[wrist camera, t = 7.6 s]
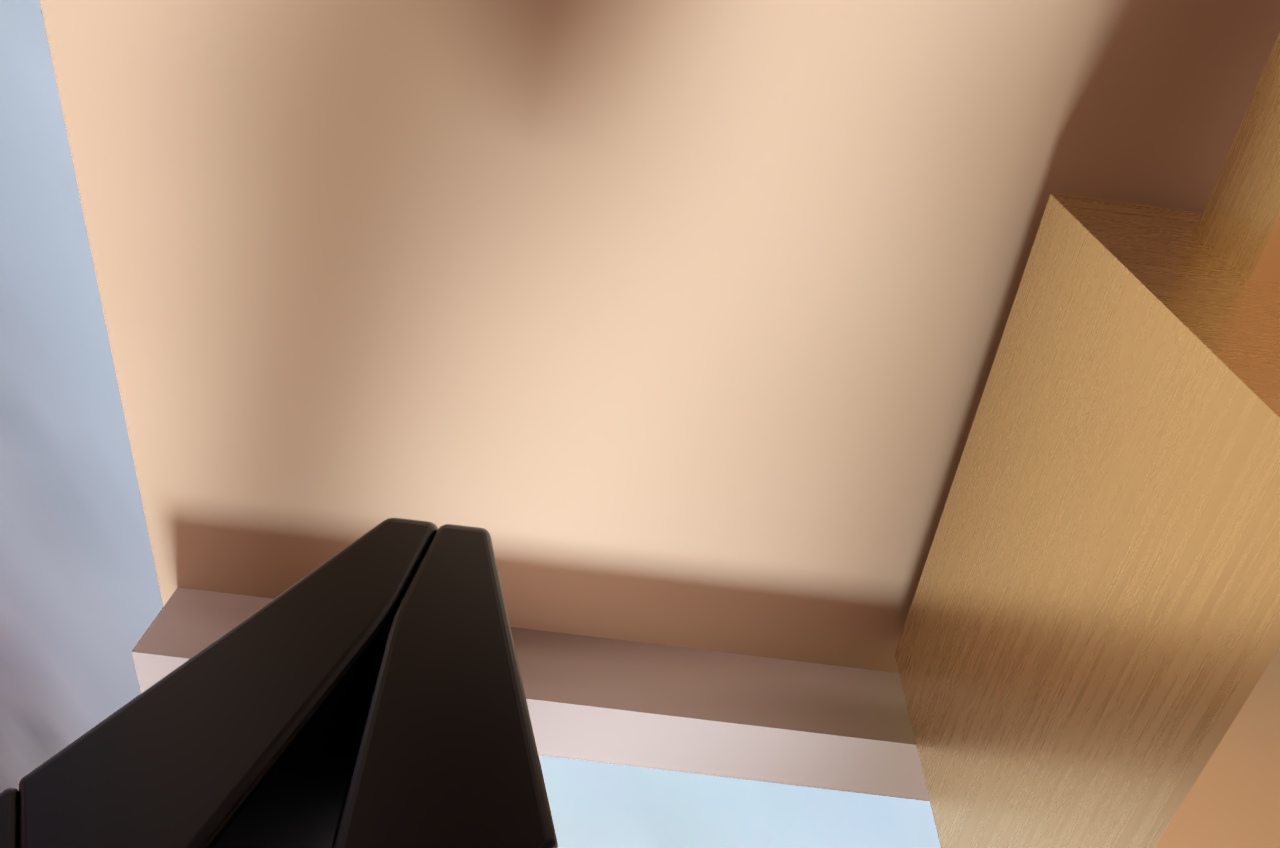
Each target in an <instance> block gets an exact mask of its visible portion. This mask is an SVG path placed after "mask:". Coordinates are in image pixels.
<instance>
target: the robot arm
mask: <svg viewBox="0 0 1280 848" xmlns="http://www.w3.org/2000/svg"><path fill="white" fill-rule="evenodd" d="M557 847H558V843H557V839H556V834H555V830H554V825H553V820H552V816H551V811H550V807H549V802H548V797H547V793H546V788H545V784H544V779H543V774H542V770H541V765H540V761H539V756H538V752H537V747H536V742H535V738H534V733H533V729H532V724H531V719H530V715H529V710H528V706H527V701H526V696H525V692H524V687H523V683H522V678H521V673H520V669H519V664H518V660H517V655H516V650H515V646H514V641H513V637H512V632H511V627H510V623H509V618H508V614H507V609H506V604H505V600H504V595H503V591H502V586H501V581H500V577H499V572H498V568H497V563H496V558H495V554H494V549H493V545H492V540H491V536H490V533H489V532H488V531H487V530H486V529H484V528H479V527H470V526H462V525H453V524H445V525H443V526H440V527H439V529H438V527H437V526H436V525H435V524H434V523H432V522H428V521H420V520H411V519H403V518H389V519H386V520H384V521H383V522H381V523H380V524H378V525H377V526H375V527H374V528H373V529H371V530H370V531H368V532H367V533H366V534H364V535H363V536H361V537H360V538H359V539H357V540H356V541H354V542H353V543H352V544H350V545H349V546H347V547H346V548H345V549H343V550H342V551H340V552H339V553H338V554H336V555H335V556H333V557H332V558H331V559H329V560H328V561H326V562H325V563H324V564H322V565H321V566H319V567H318V568H317V569H315V570H314V571H312V572H311V573H310V574H308V575H307V576H305V577H304V578H302V579H301V580H300V581H298V582H297V583H295V584H294V585H293V586H291V587H290V588H288V589H287V590H286V591H284V592H283V593H281V594H280V595H279V596H277V597H276V598H274V599H273V600H272V601H270V602H269V603H267V604H266V605H265V606H263V607H262V608H260V609H259V610H258V611H256V612H255V613H253V614H252V615H251V616H249V617H248V618H246V619H245V620H244V621H242V622H241V623H239V624H238V625H237V626H235V627H234V628H232V629H231V630H230V631H228V632H227V633H225V634H224V635H223V636H221V637H220V638H218V639H217V640H216V641H214V642H213V643H211V644H210V645H209V646H207V647H206V648H204V649H203V650H202V651H200V652H199V653H197V654H196V655H195V656H193V657H192V658H190V659H189V660H188V661H186V662H185V663H183V664H182V665H181V666H179V667H178V668H176V669H175V670H173V671H172V672H171V673H169V674H168V675H166V676H165V677H164V678H162V679H161V680H159V681H158V682H157V683H155V684H154V685H152V686H151V687H150V688H148V689H147V690H145V691H144V692H143V693H141V694H140V695H138V696H137V697H136V698H134V699H133V700H131V701H130V702H129V703H127V704H126V705H124V706H123V707H122V708H120V709H119V710H117V711H116V712H115V713H113V714H112V715H110V716H109V717H108V718H106V719H105V720H103V721H102V722H101V723H99V724H98V725H96V726H95V727H94V728H92V729H91V730H89V731H88V732H87V733H85V734H84V735H82V736H81V737H80V738H78V739H77V740H75V741H74V742H73V743H71V744H70V745H68V746H67V747H66V748H64V749H63V750H61V751H60V752H59V753H57V754H56V755H54V756H53V757H52V758H50V759H49V760H47V761H46V762H44V763H43V764H42V765H40V766H39V767H37V768H36V769H35V770H33V771H32V772H30V773H29V774H28V775H26V776H25V777H23V778H22V779H21V781H20V783H19V791H18V790H17V789H15V788H8V789H6V790H5V791H3V792H2V793H0V848H557Z"/></svg>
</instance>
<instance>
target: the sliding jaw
mask: <svg viewBox="0 0 1280 848" xmlns="http://www.w3.org/2000/svg"><path fill="white" fill-rule="evenodd" d="M895 658H896V662H897V666H898V670H899V675H900V679H901V683H902V687H903V691H904V695H905V700H906V704H907V708H908V712H909V716H910V720H911V725H912V729H913V733H914V737H915V741H916V745H917V749H918V754H919V758H920V762H921V766H922V770H923V774H924V779H925V783H926V787H927V791H928V795H929V799H930V804H931V808H932V812H933V816H934V820H935V824H936V829H937V833H938V837H939V841H940V845H941V848H1280V33H1279V35H1278V37H1277V40H1276V42H1275V44H1274V47H1273V49H1272V51H1271V54H1270V56H1269V58H1268V61H1267V63H1266V65H1265V68H1264V70H1263V72H1262V75H1261V77H1260V79H1259V82H1258V84H1257V86H1256V89H1255V91H1254V93H1253V96H1252V98H1251V100H1250V103H1249V105H1248V107H1247V110H1246V112H1245V114H1244V117H1243V119H1242V121H1241V124H1240V126H1239V128H1238V131H1237V133H1236V136H1235V138H1234V140H1233V143H1232V145H1231V147H1230V150H1229V152H1228V154H1227V157H1226V159H1225V161H1224V164H1223V166H1222V168H1221V171H1220V173H1219V175H1218V178H1217V180H1216V182H1215V185H1214V187H1213V189H1212V192H1211V194H1210V196H1209V199H1208V201H1207V203H1206V206H1205V208H1204V210H1203V212H1195V211H1187V210H1179V209H1171V208H1163V207H1155V206H1146V205H1138V204H1130V203H1122V202H1114V201H1106V200H1098V199H1089V198H1081V197H1073V196H1065V195H1057V194H1050V196H1049V199H1048V202H1047V205H1046V208H1045V211H1044V214H1043V217H1042V220H1041V223H1040V226H1039V229H1038V232H1037V235H1036V238H1035V241H1034V244H1033V246H1032V249H1031V252H1030V255H1029V258H1028V261H1027V264H1026V267H1025V270H1024V273H1023V276H1022V279H1021V282H1020V285H1019V288H1018V291H1017V294H1016V297H1015V300H1014V303H1013V306H1012V309H1011V312H1010V315H1009V317H1008V320H1007V323H1006V326H1005V329H1004V332H1003V335H1002V338H1001V341H1000V344H999V347H998V350H997V353H996V356H995V359H994V362H993V365H992V368H991V371H990V374H989V377H988V380H987V383H986V386H985V388H984V391H983V394H982V397H981V400H980V403H979V406H978V409H977V412H976V415H975V418H974V421H973V424H972V427H971V430H970V433H969V436H968V439H967V442H966V445H965V448H964V451H963V454H962V457H961V459H960V462H959V465H958V468H957V471H956V474H955V477H954V480H953V483H952V486H951V489H950V492H949V495H948V498H947V501H946V504H945V507H944V510H943V513H942V516H941V519H940V522H939V525H938V528H937V530H936V533H935V536H934V539H933V542H932V545H931V548H930V551H929V554H928V557H927V560H926V563H925V566H924V569H923V572H922V575H921V578H920V581H919V584H918V587H917V590H916V593H915V596H914V599H913V601H912V604H911V607H910V610H909V613H908V616H907V619H906V622H905V625H904V628H903V631H902V634H901V637H900V640H899V643H898V646H897V649H896V652H895Z"/></svg>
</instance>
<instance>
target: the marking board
mask: <svg viewBox="0 0 1280 848" xmlns="http://www.w3.org/2000/svg"><path fill="white" fill-rule="evenodd" d="M40 4H41V9H42V14H43V19H44V24H45V29H46V34H47V39H48V44H49V48H50V53H51V58H52V63H53V68H54V73H55V78H56V83H57V88H58V93H59V97H60V102H61V107H62V112H63V117H64V122H65V127H66V132H67V137H68V142H69V146H70V151H71V156H72V161H73V166H74V171H75V176H76V181H77V186H78V191H79V195H80V200H81V205H82V210H83V215H84V220H85V225H86V230H87V235H88V240H89V245H90V249H91V254H92V259H93V264H94V269H95V274H96V279H97V284H98V289H99V294H100V298H101V303H102V308H103V313H104V318H105V323H106V328H107V333H108V338H109V343H110V347H111V352H112V357H113V362H114V367H115V372H116V377H117V382H118V387H119V392H120V396H121V401H122V406H123V411H124V416H125V421H126V426H127V431H128V436H129V441H130V445H131V450H132V455H133V460H134V465H135V470H136V475H137V480H138V485H139V490H140V494H141V499H142V504H143V509H144V514H145V519H146V524H147V529H148V534H149V539H150V543H151V548H152V553H153V558H154V563H155V568H156V573H157V578H158V583H159V588H160V592H161V597H162V602H163V608H162V610H161V611H160V613H159V614H158V615H157V617H156V618H155V620H154V621H153V622H152V624H151V625H150V627H149V628H148V629H147V631H146V632H145V634H144V635H143V636H142V638H141V639H140V641H139V642H138V643H137V645H136V646H135V648H134V649H133V650H132V656H133V660H134V665H135V669H136V673H137V678H138V682H139V686H140V690H141V693H143V692H144V691H145V690H147V689H148V688H150V687H151V686H152V685H154V684H155V683H157V682H158V681H159V680H161V679H162V678H164V677H165V676H166V675H168V674H169V673H171V672H172V671H173V670H175V669H176V668H178V667H179V666H181V665H182V664H183V663H185V662H186V661H188V660H189V659H190V658H192V657H193V656H195V655H196V654H197V653H199V652H200V651H202V650H203V649H204V648H206V647H207V646H209V645H210V644H211V643H213V642H214V641H216V640H217V639H218V638H220V637H221V636H223V635H224V634H225V633H227V632H228V631H230V630H231V629H232V628H234V627H235V626H237V625H238V624H239V623H241V622H242V621H244V620H245V619H246V618H248V617H249V616H251V615H252V614H253V613H255V612H256V611H258V610H259V609H260V608H262V607H263V606H265V605H266V604H267V603H269V602H270V601H272V600H273V599H274V598H276V597H277V596H279V595H280V594H281V593H283V592H284V591H286V590H287V589H288V588H290V587H291V586H293V585H294V584H295V583H297V582H298V581H300V580H301V579H302V578H304V577H305V576H307V575H308V574H310V573H311V572H312V571H314V570H315V569H317V568H318V567H319V566H321V565H322V564H324V563H325V562H326V561H328V560H329V559H331V558H332V557H333V556H335V555H336V554H338V553H339V552H340V551H342V550H343V549H345V548H346V547H347V546H349V545H350V544H352V543H353V542H354V541H356V540H357V539H359V538H360V537H361V536H363V535H364V534H366V533H367V532H368V531H370V530H371V529H373V528H374V527H375V526H377V525H378V524H380V523H381V522H383V521H384V520H386V519H389V518H403V519H411V520H420V521H428V522H432V523H434V524H435V525H436V526H437V527H438V529H439V527H440V526H443V525H445V524H453V525H462V526H470V527H479V528H484V529H486V530H487V531H488V532H489V533H490V536H491V540H492V545H493V549H494V554H495V558H496V563H497V568H498V572H499V577H500V581H501V586H502V591H503V595H504V600H505V604H506V609H507V614H508V618H509V623H510V627H511V632H512V637H513V641H514V646H515V650H516V655H517V660H518V664H519V669H520V673H521V678H522V683H523V687H524V692H525V696H526V701H527V706H528V710H529V715H530V719H531V724H532V729H533V733H534V738H535V742H536V747H537V752H538V755H543V756H552V757H560V758H569V759H577V760H586V761H594V762H603V763H611V764H619V765H628V766H636V767H645V768H653V769H662V770H670V771H679V772H687V773H696V774H704V775H713V776H721V777H729V778H738V779H746V780H755V781H763V782H772V783H780V784H789V785H797V786H806V787H814V788H822V789H831V790H839V791H848V792H856V793H865V794H873V795H882V796H890V797H899V798H907V799H916V800H924V801H930V799H929V795H928V791H927V787H926V783H925V779H924V774H923V770H922V766H921V762H920V758H919V754H918V749H917V745H916V741H915V737H914V733H913V729H912V725H911V720H910V716H909V712H908V708H907V704H906V700H905V695H904V691H903V687H902V683H901V679H900V675H899V670H898V666H897V662H896V658H895V652H896V649H897V646H898V643H899V640H900V637H901V634H902V631H903V628H904V625H905V622H906V619H907V616H908V613H909V610H910V607H911V604H912V601H913V599H914V596H915V593H916V590H917V587H918V584H919V581H920V578H921V575H922V572H923V569H924V566H925V563H926V560H927V557H928V554H929V551H930V548H931V545H932V542H933V539H934V536H935V533H936V530H937V528H938V525H939V522H940V519H941V516H942V513H943V510H944V507H945V504H946V501H947V498H948V495H949V492H950V489H951V486H952V483H953V480H954V477H955V474H956V471H957V468H958V465H959V462H960V459H961V457H962V454H963V451H964V448H965V445H966V442H967V439H968V436H969V433H970V430H971V427H972V424H973V421H974V418H975V415H976V412H977V409H978V406H979V403H980V400H981V397H982V394H983V391H984V388H985V386H986V383H987V380H988V377H989V374H990V371H991V368H992V365H993V362H994V359H995V356H996V353H997V350H998V347H999V344H1000V341H1001V338H1002V335H1003V332H1004V329H1005V326H1006V323H1007V320H1008V317H1009V315H1010V312H1011V309H1012V306H1013V303H1014V300H1015V297H1016V294H1017V291H1018V288H1019V285H1020V282H1021V279H1022V276H1023V273H1024V270H1025V267H1026V264H1027V261H1028V258H1029V255H1030V252H1031V249H1032V246H1033V244H1034V241H1035V238H1036V235H1037V232H1038V229H1039V226H1040V223H1041V220H1042V217H1043V214H1044V211H1045V208H1046V205H1047V202H1048V199H1049V196H1050V194H1057V195H1065V196H1073V197H1081V198H1089V199H1098V200H1106V201H1114V202H1122V203H1130V204H1138V205H1146V206H1155V207H1163V208H1171V209H1179V210H1187V211H1195V212H1203V210H1204V208H1205V206H1206V203H1207V201H1208V199H1209V196H1210V194H1211V192H1212V189H1213V187H1214V185H1215V182H1216V180H1217V178H1218V175H1219V173H1220V171H1221V168H1222V166H1223V164H1224V161H1225V159H1226V157H1227V154H1228V152H1229V150H1230V147H1231V145H1232V143H1233V140H1234V138H1235V136H1236V133H1237V131H1238V128H1239V126H1240V124H1241V121H1242V119H1243V117H1244V114H1245V112H1246V110H1247V107H1248V105H1249V103H1250V100H1251V98H1252V96H1253V93H1254V91H1255V89H1256V86H1257V84H1258V82H1259V79H1260V77H1261V75H1262V72H1263V70H1264V68H1265V65H1266V63H1267V61H1268V58H1269V56H1270V54H1271V51H1272V49H1273V47H1274V44H1275V42H1276V40H1277V37H1278V35H1279V33H1280V0H40Z"/></svg>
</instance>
